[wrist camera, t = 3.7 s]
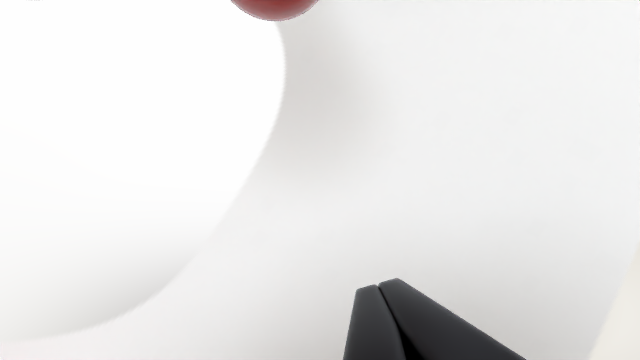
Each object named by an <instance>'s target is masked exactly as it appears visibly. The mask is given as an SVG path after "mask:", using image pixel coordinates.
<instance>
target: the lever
mask: <svg viewBox="0 0 640 360" xmlns="http://www.w3.org/2000/svg"><path fill="white" fill-rule="evenodd" d="M231 1H232V2H233V3H234V4H235V5H236V6H237V7H238V8H239V9H241V10H243V11H244V12H245V13H247V14H249V15H251V16H253V17H256V18H259V19H263V20H268V21H284V20H289V19H292V18H295V17H297V16H300V15H301V14H303V13H305V12H306V11H308V10H309V9H311V8H312V7H313V6H314V5H315V4H316V3H317V2H318V1H319V0H231Z"/></svg>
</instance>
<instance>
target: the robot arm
mask: <svg viewBox="0 0 640 360" xmlns="http://www.w3.org/2000/svg"><path fill="white" fill-rule="evenodd" d="M343 360H526V359H525V358H523V357H521V356H520V355H518V354H517V353H515V352H514V351H512V350H510V349H509V348H507V347H506V346H504V345H503V344H501V343H499V342H498V341H496V340H495V339H493V338H492V337H490V336H488V335H487V334H485V333H484V332H482V331H481V330H479V329H477V328H476V327H474V326H473V325H471V324H470V323H468V322H466V321H465V320H463V319H462V318H460V317H459V316H457V315H455V314H454V313H452V312H451V311H449V310H448V309H446V308H444V307H443V306H441V305H440V304H438V303H437V302H435V301H433V300H432V299H430V298H429V297H427V296H426V295H424V294H422V293H421V292H419V291H418V290H416V289H415V288H413V287H411V286H410V285H408V284H407V283H405V282H404V281H402V280H400V279H398V278H395V279H391V280H388V281H384V282H381V283H379V285H378V286H377V285H370V286H367V287H363V288H360V289H358V290H357V291H356V294H355V299H354V304H353V310H352V315H351V320H350V325H349V331H348V336H347V341H346V347H345V352H344V357H343Z"/></svg>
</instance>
